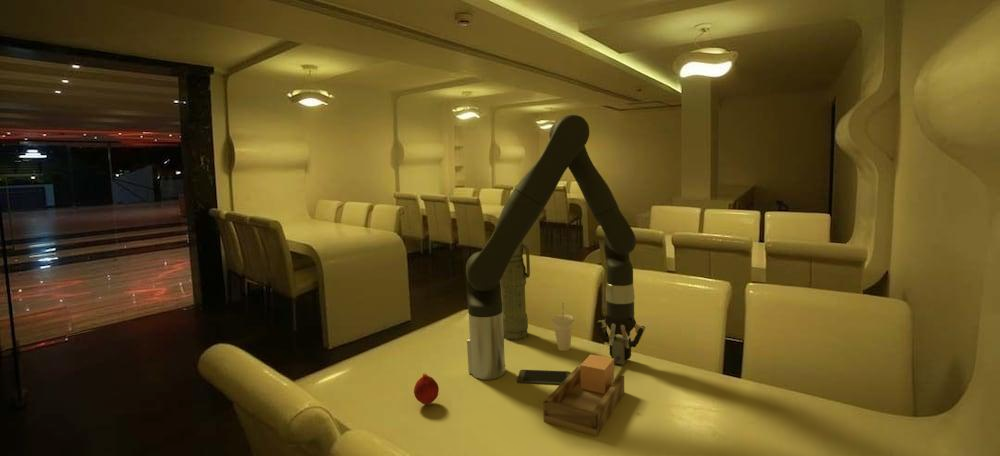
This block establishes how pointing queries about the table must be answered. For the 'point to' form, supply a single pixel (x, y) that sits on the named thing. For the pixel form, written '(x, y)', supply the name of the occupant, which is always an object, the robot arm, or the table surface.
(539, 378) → the cell phone
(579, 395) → the wooden crate
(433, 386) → the onion
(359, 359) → the table surface
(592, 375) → the block
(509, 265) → the thermos
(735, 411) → the table surface
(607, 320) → the robot arm
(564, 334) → the smoothie
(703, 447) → the table surface
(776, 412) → the table surface
